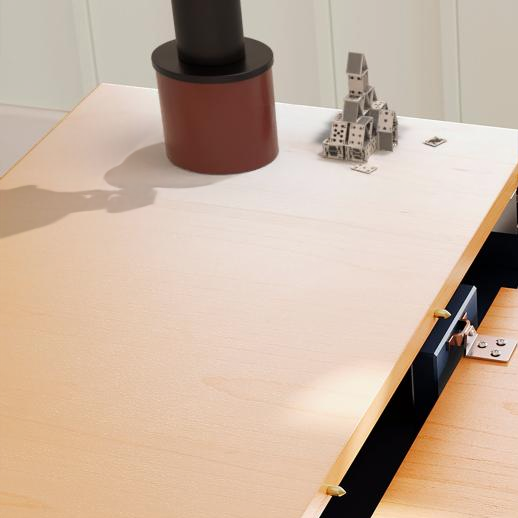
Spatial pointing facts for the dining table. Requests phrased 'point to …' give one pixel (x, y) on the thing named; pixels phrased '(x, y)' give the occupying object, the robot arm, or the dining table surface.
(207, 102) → the tin
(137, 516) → the dining table surface
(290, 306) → the dining table surface
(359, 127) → the house of cards
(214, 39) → the black lidded canister
